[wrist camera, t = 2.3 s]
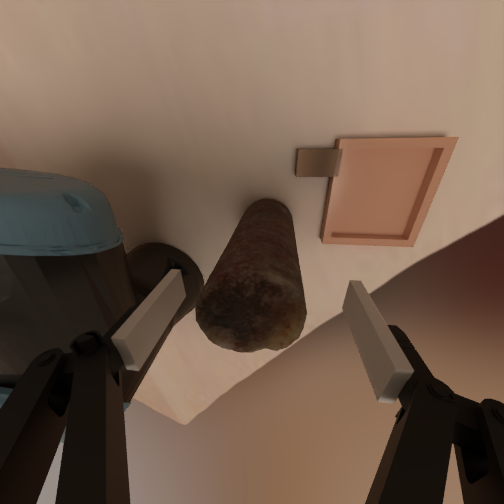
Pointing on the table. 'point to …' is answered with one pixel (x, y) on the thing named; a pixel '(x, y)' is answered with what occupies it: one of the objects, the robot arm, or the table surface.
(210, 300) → the dark brown tall piece
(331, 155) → the matchbox
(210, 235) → the table surface
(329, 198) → the dish
